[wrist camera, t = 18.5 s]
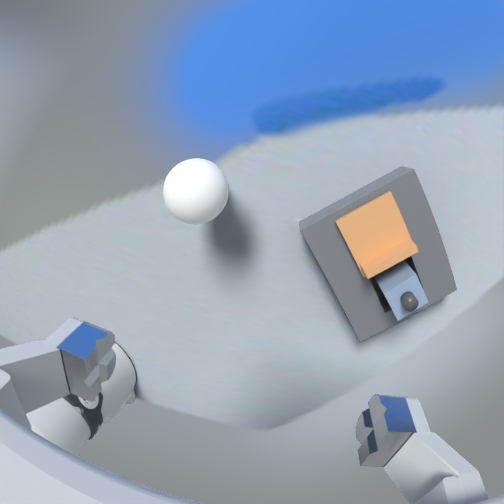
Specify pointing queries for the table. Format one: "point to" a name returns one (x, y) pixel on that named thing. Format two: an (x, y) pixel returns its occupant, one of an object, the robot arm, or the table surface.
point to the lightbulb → (195, 191)
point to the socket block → (367, 290)
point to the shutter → (377, 235)
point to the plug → (401, 289)
